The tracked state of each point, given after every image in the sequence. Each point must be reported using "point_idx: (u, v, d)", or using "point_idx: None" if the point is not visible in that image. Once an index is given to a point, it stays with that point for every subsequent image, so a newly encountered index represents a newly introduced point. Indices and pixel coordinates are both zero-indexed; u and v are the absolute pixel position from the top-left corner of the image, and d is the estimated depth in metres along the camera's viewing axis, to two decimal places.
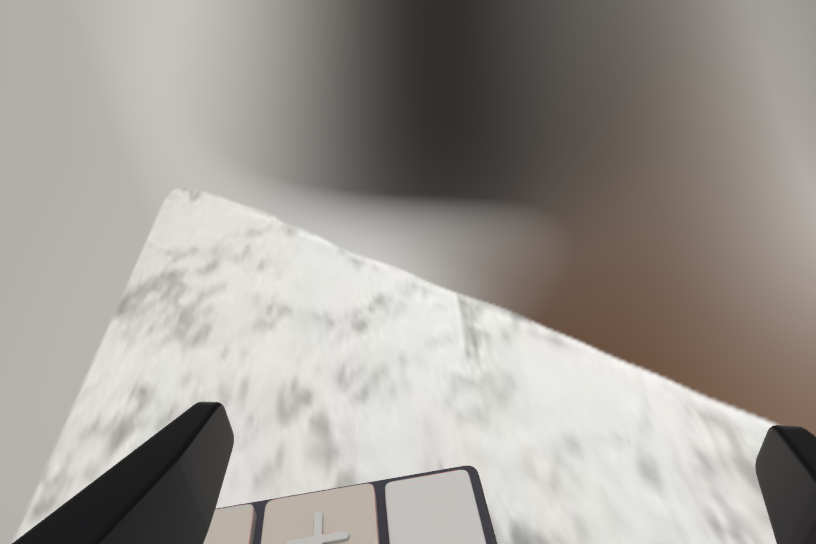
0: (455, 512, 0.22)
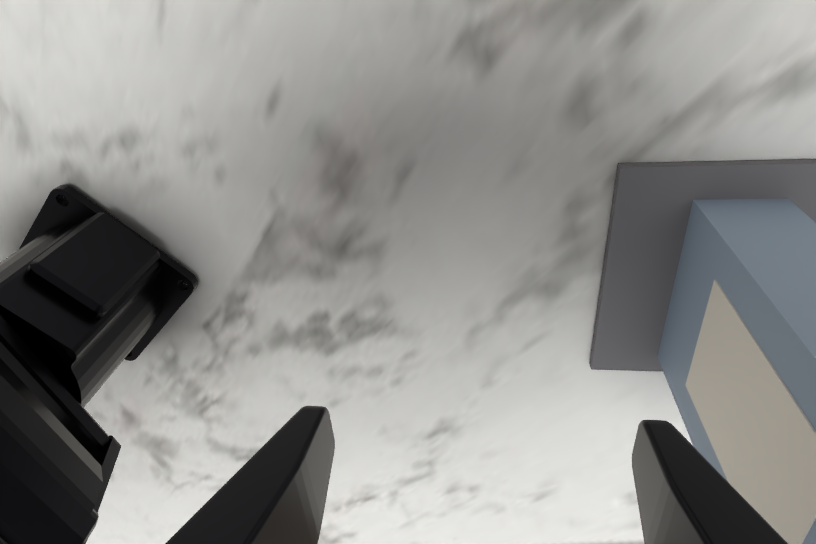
0: None
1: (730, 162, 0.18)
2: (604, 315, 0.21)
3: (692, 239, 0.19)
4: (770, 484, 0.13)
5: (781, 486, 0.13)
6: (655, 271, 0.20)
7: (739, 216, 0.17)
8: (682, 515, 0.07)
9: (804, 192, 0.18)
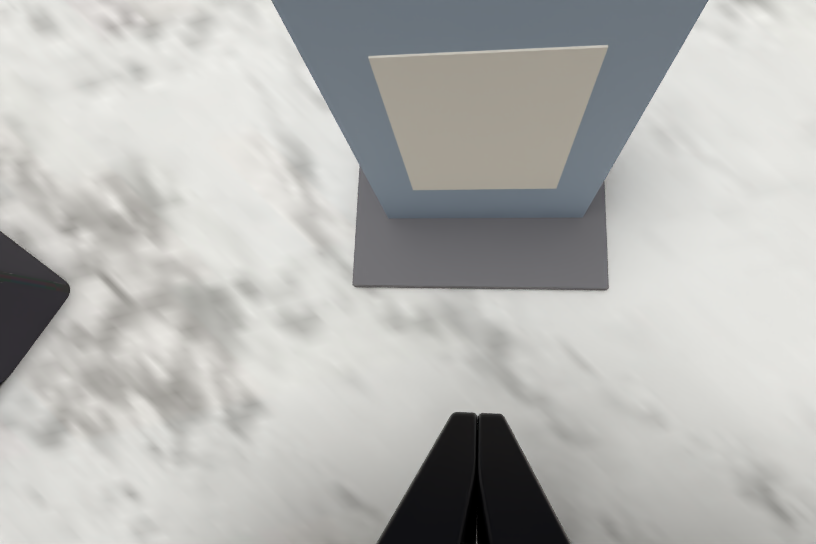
0: None
1: (359, 195, 0.21)
2: (523, 281, 0.19)
3: (417, 212, 0.19)
4: (496, 95, 0.12)
5: (478, 87, 0.11)
6: (466, 237, 0.20)
7: None
8: (480, 502, 0.07)
9: None
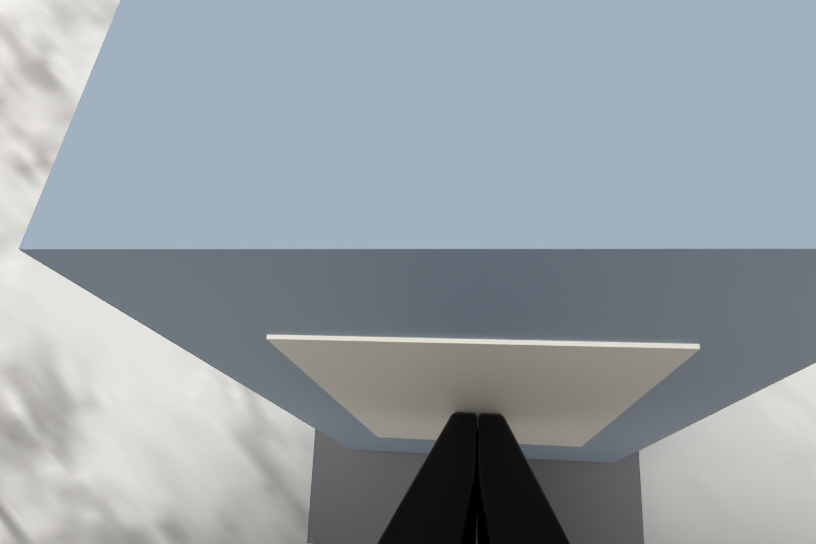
0: None
1: None
2: None
3: (388, 448, 0.14)
4: (493, 380, 0.07)
5: (462, 372, 0.07)
6: None
7: None
8: (480, 502, 0.07)
9: None
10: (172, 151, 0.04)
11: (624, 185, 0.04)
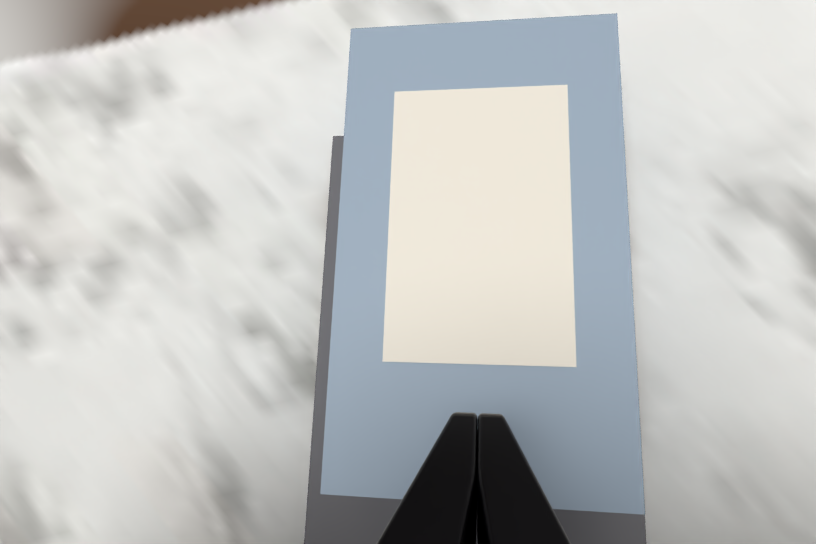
0: None
1: None
2: None
3: (372, 467, 0.12)
4: (489, 142, 0.14)
5: (473, 130, 0.14)
6: None
7: None
8: (480, 502, 0.07)
9: None
10: None
11: None
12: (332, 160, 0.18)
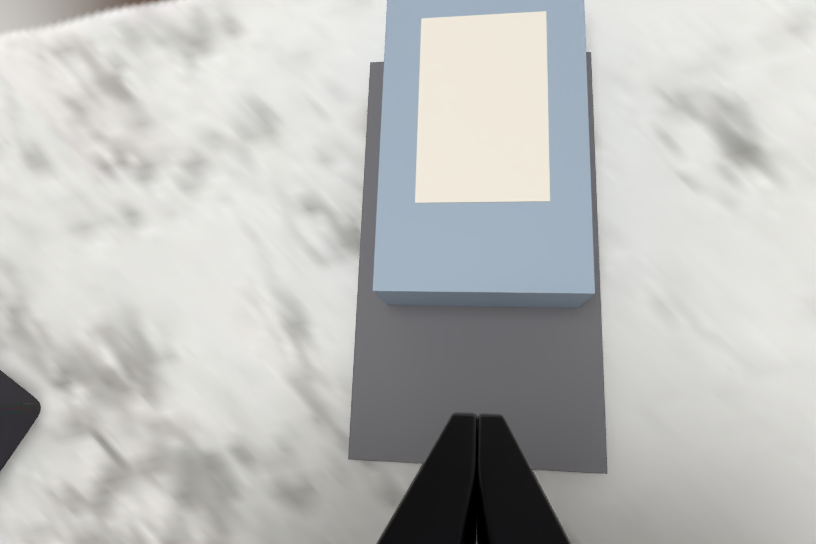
0: None
1: (355, 360, 0.21)
2: None
3: (408, 272, 0.18)
4: (490, 52, 0.19)
5: (478, 43, 0.19)
6: None
7: None
8: (480, 502, 0.07)
9: None
10: None
11: None
12: (369, 80, 0.23)
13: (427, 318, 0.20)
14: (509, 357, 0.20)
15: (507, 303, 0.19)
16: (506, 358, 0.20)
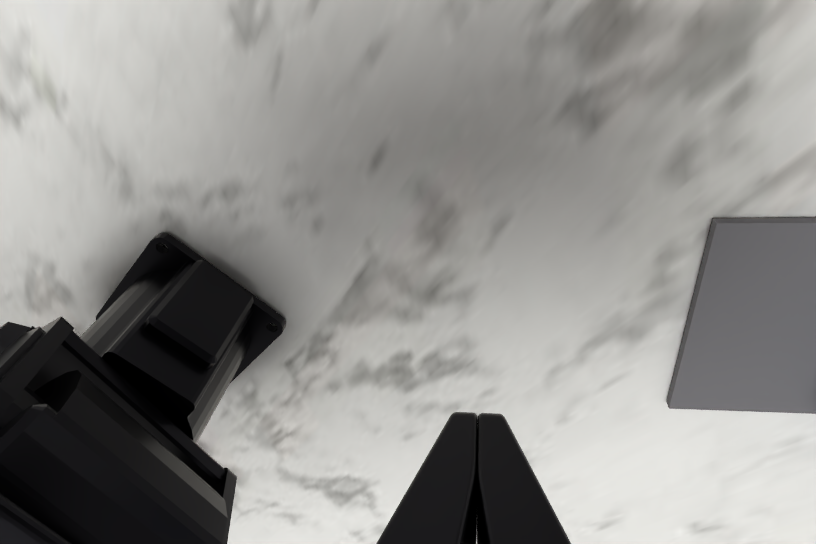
0: None
1: None
2: (687, 358, 0.22)
3: None
4: None
5: None
6: (741, 318, 0.21)
7: None
8: (480, 502, 0.07)
9: None
10: None
11: None
12: None
13: None
14: (787, 352, 0.21)
15: None
16: (786, 351, 0.21)
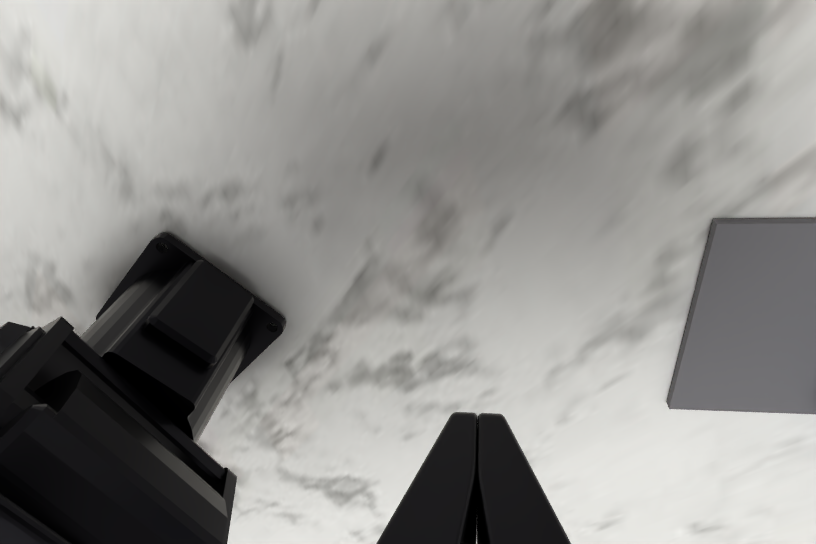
0: None
1: None
2: (687, 359, 0.22)
3: None
4: None
5: None
6: (742, 319, 0.21)
7: None
8: (480, 502, 0.07)
9: None
10: None
11: None
12: None
13: None
14: (787, 353, 0.21)
15: None
16: (786, 351, 0.21)
